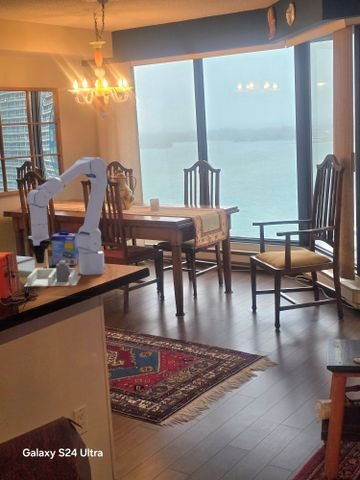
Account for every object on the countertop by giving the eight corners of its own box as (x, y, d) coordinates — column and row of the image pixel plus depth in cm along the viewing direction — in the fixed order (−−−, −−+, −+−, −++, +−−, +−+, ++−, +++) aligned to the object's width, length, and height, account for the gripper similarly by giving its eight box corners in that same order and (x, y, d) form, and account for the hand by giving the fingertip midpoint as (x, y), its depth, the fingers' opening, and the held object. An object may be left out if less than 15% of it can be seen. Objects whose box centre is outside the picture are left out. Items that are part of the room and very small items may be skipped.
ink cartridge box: (52, 265, 258) (50, 230, 255) (55, 262, 263) (53, 227, 260) (76, 265, 257) (74, 229, 254) (79, 262, 263) (77, 227, 260)
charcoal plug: (69, 279, 231) (68, 259, 229) (68, 281, 227) (67, 262, 225) (58, 279, 230) (57, 260, 229) (56, 282, 227) (55, 262, 225)
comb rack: (81, 277, 236) (80, 267, 235) (75, 287, 222) (75, 276, 221) (32, 278, 235) (31, 268, 235) (24, 288, 222) (23, 278, 221)
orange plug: (48, 264, 228) (47, 245, 227) (46, 267, 224) (45, 247, 223) (37, 265, 228) (35, 245, 227) (34, 267, 224) (33, 247, 223)
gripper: (32, 221, 231) (34, 257, 233) (23, 227, 216) (25, 266, 219) (51, 220, 231) (53, 257, 233) (44, 227, 217) (46, 265, 219)
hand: (41, 261), depth 226 cm, fingers closed on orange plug, 4 cm apart
